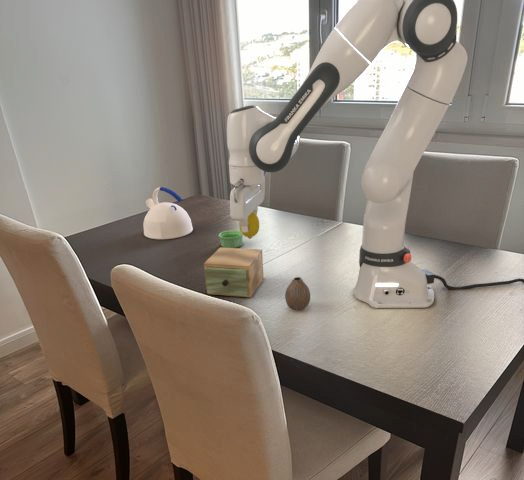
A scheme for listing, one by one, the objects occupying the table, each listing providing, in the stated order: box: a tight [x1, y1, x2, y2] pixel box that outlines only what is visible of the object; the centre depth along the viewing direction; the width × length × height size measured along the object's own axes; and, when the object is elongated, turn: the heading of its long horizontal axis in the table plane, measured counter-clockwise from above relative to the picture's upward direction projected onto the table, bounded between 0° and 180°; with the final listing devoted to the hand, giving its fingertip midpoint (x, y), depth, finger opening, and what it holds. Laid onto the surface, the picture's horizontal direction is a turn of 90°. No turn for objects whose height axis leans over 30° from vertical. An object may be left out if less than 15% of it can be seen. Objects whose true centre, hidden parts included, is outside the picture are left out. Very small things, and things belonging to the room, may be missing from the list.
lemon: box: [238, 212, 260, 240], centre depth 134 cm, size 6×6×8 cm
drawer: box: [204, 267, 249, 297], centre depth 147 cm, size 14×13×8 cm
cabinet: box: [203, 246, 265, 298], centre depth 149 cm, size 14×14×10 cm
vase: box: [284, 276, 311, 312], centre depth 134 cm, size 7×7×9 cm
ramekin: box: [218, 229, 244, 248], centre depth 183 cm, size 9×9×4 cm
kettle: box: [142, 186, 194, 241], centre depth 198 cm, size 20×21×18 cm
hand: (249, 227), depth 134 cm, fingers closed on lemon, 5 cm apart
